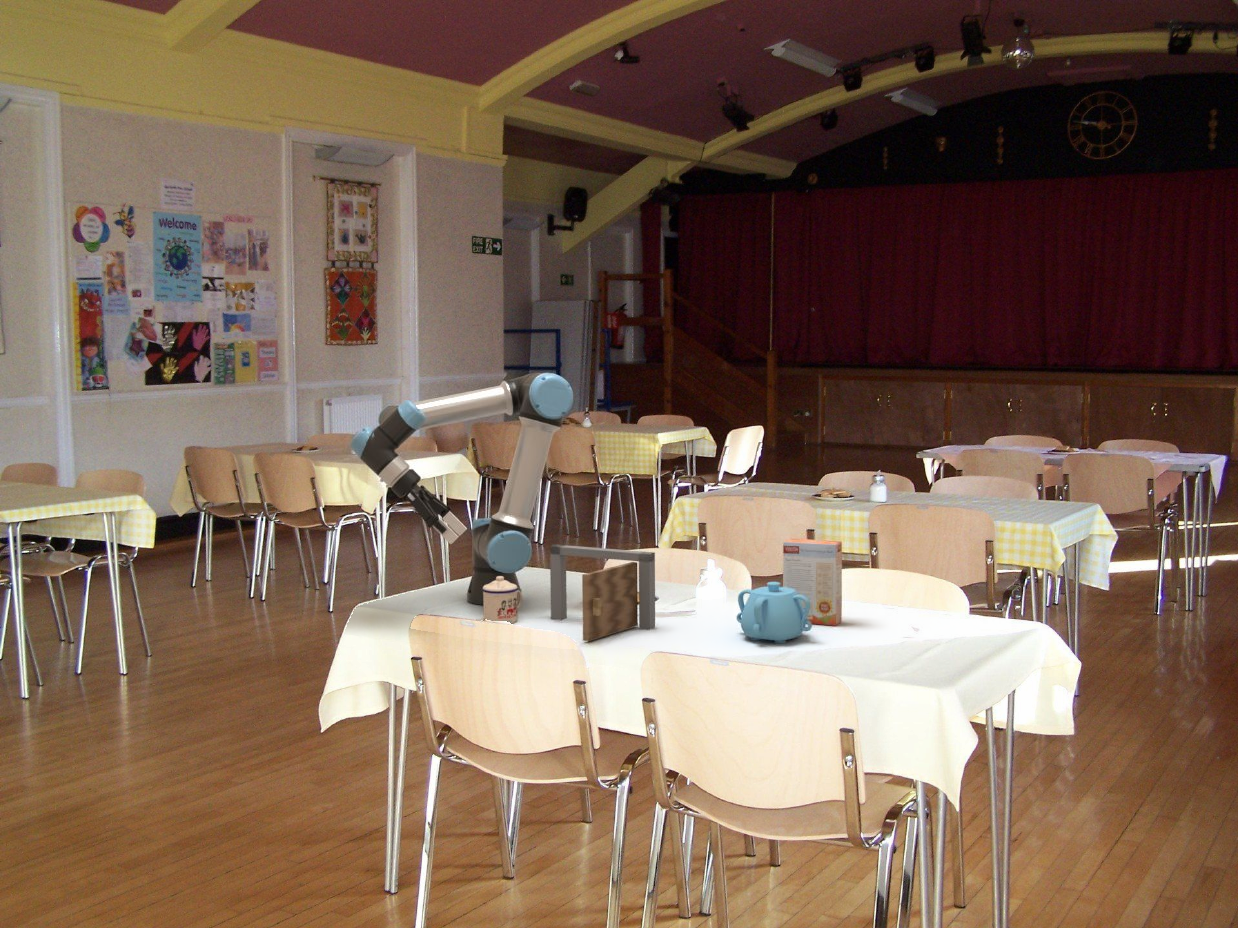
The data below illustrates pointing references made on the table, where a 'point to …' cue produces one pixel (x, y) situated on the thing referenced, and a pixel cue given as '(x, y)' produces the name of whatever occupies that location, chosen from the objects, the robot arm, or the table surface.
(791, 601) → the decorative pot
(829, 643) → the table surface
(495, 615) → the teacup with lid
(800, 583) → the cracker box
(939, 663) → the table surface
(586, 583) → the door
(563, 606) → the door frame
